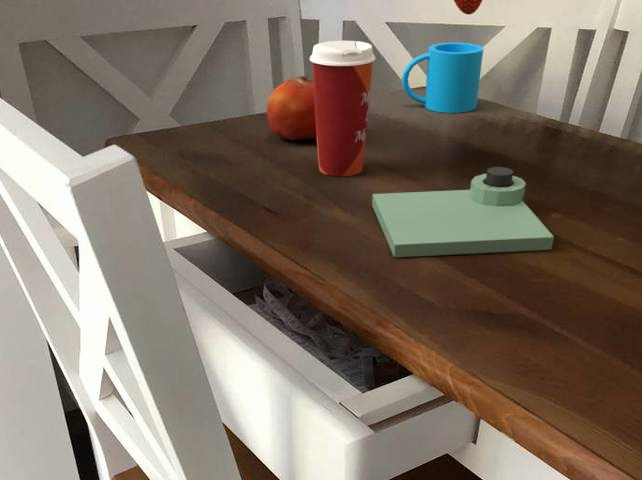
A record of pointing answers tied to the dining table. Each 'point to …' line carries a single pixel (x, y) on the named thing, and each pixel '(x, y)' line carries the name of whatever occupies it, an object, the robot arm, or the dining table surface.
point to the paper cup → (341, 104)
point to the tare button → (499, 177)
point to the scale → (461, 221)
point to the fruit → (468, 5)
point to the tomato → (293, 109)
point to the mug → (449, 77)
